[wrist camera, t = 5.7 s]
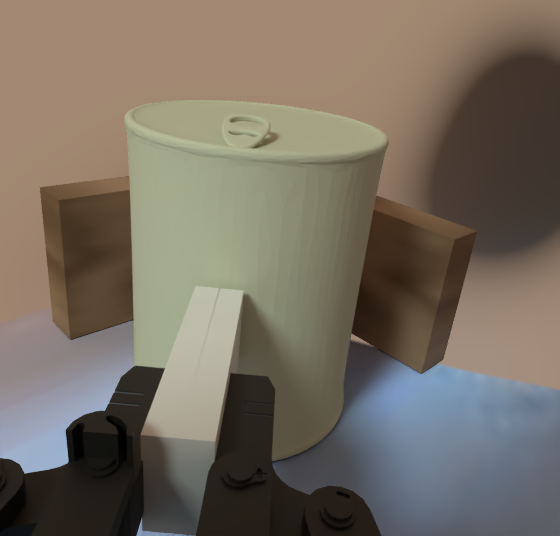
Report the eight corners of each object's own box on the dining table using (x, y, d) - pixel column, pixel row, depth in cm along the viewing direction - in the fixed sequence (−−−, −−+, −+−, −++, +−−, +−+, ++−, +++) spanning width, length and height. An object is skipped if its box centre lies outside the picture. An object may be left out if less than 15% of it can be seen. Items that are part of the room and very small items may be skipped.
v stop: (450, 376, 26) (487, 243, 23) (40, 336, 26) (25, 196, 23) (407, 275, 36) (429, 174, 33) (114, 246, 36) (110, 142, 33)
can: (95, 447, 20) (72, 112, 15) (165, 321, 28) (166, 80, 23) (345, 482, 19) (410, 150, 14) (341, 343, 28) (381, 103, 23)
